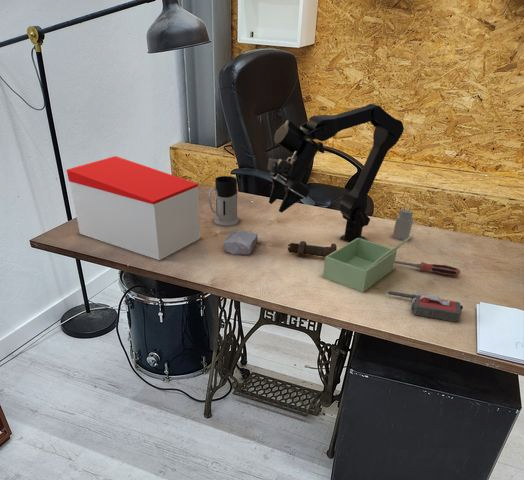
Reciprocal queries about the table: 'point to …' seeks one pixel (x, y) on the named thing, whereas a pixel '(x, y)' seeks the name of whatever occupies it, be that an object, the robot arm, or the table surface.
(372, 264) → the flap
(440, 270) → the screwdriver
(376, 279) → the carton
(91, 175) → the red-lidded white box
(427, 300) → the walkie-talkie
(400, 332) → the table surface
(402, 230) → the power adapter
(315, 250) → the bolt
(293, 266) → the table surface
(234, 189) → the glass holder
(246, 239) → the stone block
